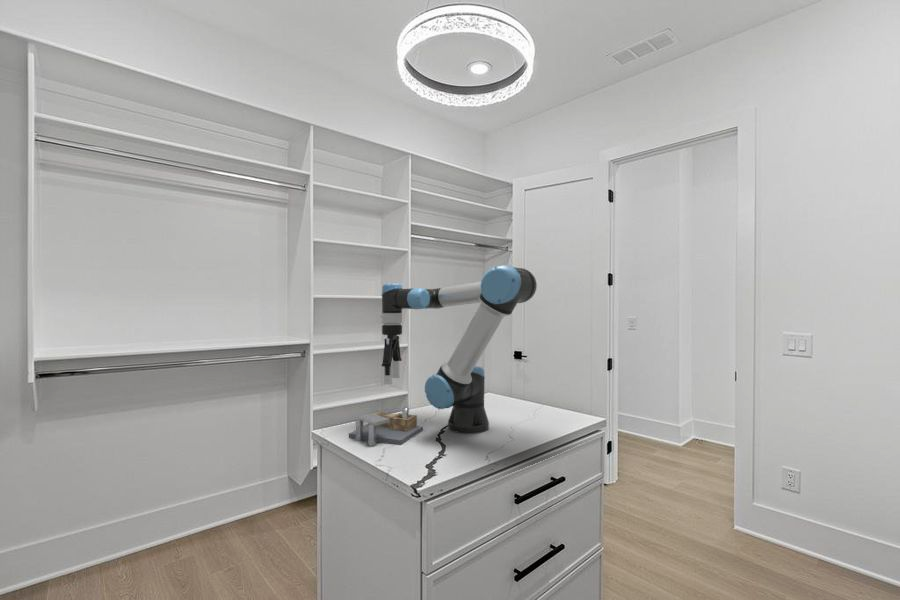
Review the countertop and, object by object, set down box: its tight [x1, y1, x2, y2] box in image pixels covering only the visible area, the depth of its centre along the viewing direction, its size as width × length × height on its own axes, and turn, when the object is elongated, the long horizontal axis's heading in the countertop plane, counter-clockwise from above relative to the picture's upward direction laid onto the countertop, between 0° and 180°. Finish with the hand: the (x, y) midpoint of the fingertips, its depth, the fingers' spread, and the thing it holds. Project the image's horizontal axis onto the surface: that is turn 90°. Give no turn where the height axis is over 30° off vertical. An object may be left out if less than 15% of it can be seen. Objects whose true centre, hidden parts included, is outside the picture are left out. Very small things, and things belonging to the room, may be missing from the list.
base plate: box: [348, 423, 424, 446], centre depth 155 cm, size 20×17×2 cm
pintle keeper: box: [355, 407, 410, 447], centre depth 152 cm, size 13×19×8 cm
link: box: [367, 411, 418, 431], centre depth 160 cm, size 17×7×4 cm, turn 69°
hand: (392, 380), depth 168 cm, fingers open, 12 cm apart
